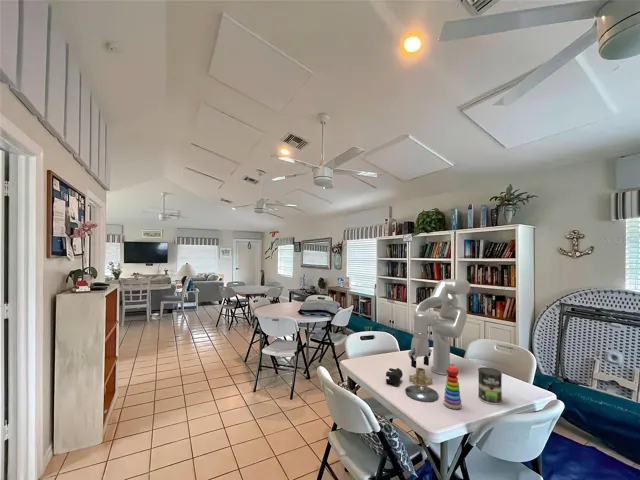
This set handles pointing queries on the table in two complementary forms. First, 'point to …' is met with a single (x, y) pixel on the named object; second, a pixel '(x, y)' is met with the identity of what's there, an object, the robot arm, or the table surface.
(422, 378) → the tan faceted octagonal piece
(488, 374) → the coffee can
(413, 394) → the plate
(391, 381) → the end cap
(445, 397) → the stacking toy
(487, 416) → the table surface
